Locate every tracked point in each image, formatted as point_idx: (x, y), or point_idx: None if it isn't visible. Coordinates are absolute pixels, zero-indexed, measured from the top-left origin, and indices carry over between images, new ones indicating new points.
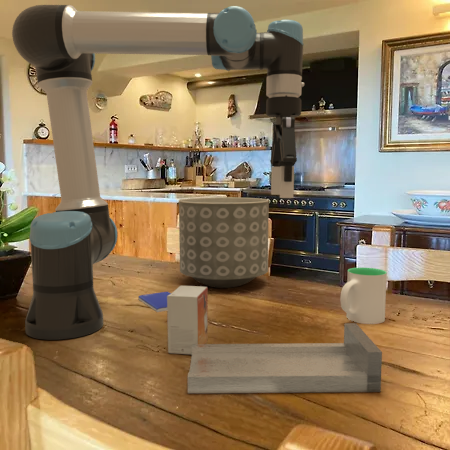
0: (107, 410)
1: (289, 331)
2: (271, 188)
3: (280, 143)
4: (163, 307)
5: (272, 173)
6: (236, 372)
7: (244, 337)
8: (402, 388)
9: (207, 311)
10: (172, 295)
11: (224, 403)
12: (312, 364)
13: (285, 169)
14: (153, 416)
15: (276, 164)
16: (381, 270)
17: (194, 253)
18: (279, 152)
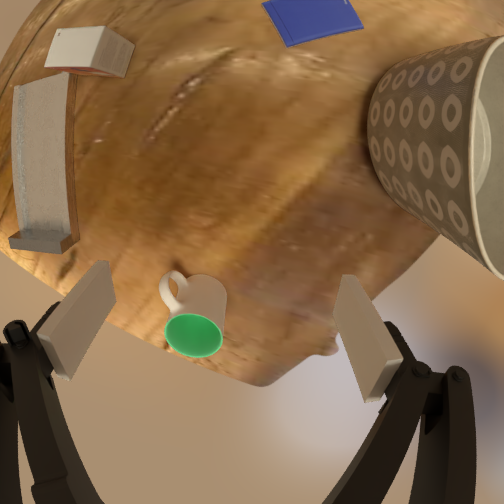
0: (15, 42)
1: (149, 185)
2: (355, 288)
3: (37, 452)
4: (266, 10)
5: (373, 335)
6: (16, 124)
7: (130, 123)
8: (36, 253)
9: (106, 72)
10: (56, 34)
11: (11, 117)
12: (41, 192)
13: (32, 331)
14: (5, 74)
15: (396, 386)
16: (202, 355)
17: (414, 60)
18: (356, 458)
